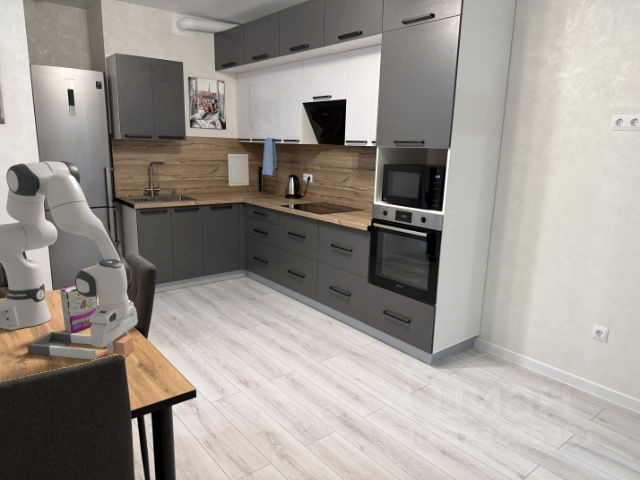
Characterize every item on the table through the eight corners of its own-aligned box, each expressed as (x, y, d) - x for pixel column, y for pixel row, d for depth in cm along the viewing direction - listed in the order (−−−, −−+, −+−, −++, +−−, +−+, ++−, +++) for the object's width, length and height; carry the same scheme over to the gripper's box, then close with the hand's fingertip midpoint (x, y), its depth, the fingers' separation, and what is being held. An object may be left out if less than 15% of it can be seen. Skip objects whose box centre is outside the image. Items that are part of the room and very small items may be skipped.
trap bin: (28, 353, 148) (27, 344, 148) (52, 339, 159) (52, 331, 158) (49, 355, 147) (48, 346, 146) (73, 341, 158) (72, 333, 157)
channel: (49, 355, 147) (48, 346, 146) (73, 341, 158) (72, 333, 157) (94, 359, 145) (93, 350, 144) (114, 345, 155) (114, 337, 155)
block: (108, 355, 147) (107, 341, 146) (117, 349, 152) (116, 335, 151) (125, 357, 146) (123, 343, 145) (133, 350, 151) (132, 336, 150)
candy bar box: (92, 321, 176) (88, 281, 172) (100, 324, 173) (96, 283, 170) (63, 331, 166) (59, 288, 163) (71, 334, 164) (66, 291, 160)
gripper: (124, 297, 156) (127, 334, 159) (85, 319, 137) (89, 361, 140) (140, 299, 155) (143, 336, 158) (103, 321, 136) (107, 363, 139)
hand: (117, 348), depth 149 cm, fingers closed on block, 5 cm apart
